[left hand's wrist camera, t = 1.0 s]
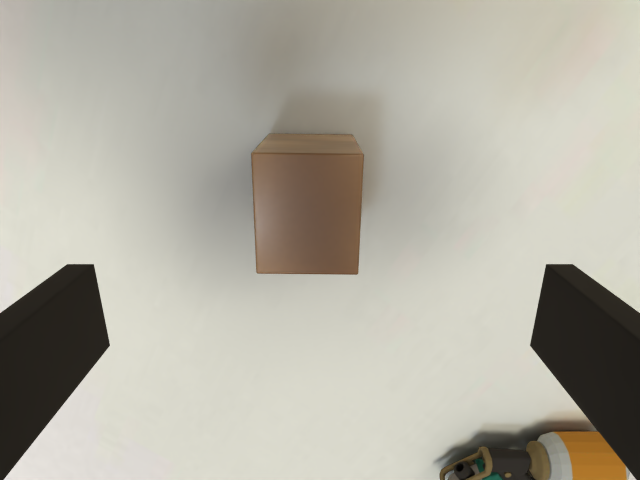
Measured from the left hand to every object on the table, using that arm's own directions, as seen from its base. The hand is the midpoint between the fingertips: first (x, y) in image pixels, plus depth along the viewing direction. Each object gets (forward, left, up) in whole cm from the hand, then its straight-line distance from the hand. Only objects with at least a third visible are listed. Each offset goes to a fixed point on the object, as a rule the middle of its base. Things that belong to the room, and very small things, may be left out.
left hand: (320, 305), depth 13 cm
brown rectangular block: (0, -1, -16) cm, 16 cm away
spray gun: (+30, +14, -16) cm, 37 cm away
